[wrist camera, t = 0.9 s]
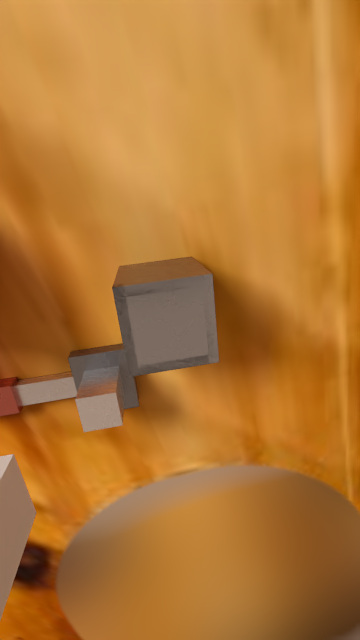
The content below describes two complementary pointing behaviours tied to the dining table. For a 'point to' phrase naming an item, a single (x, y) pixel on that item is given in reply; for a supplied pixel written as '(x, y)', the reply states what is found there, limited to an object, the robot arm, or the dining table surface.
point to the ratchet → (80, 388)
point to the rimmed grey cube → (166, 315)
